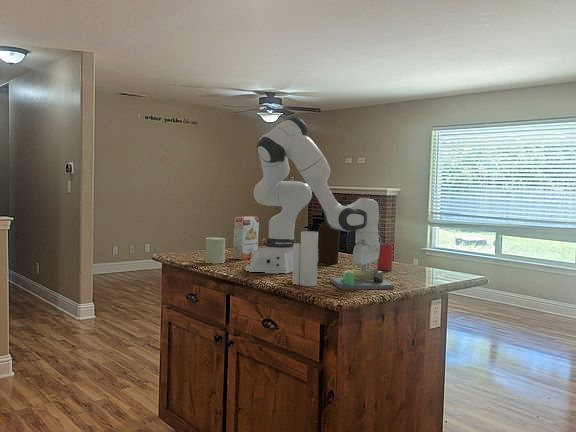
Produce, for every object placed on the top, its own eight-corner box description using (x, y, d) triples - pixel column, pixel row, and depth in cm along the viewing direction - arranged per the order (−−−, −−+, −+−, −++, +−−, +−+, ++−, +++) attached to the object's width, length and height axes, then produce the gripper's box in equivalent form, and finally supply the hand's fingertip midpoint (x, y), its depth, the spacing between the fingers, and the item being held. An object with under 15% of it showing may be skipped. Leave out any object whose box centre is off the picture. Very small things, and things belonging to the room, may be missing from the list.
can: (201, 262, 252) (201, 237, 251) (215, 260, 259) (216, 235, 258) (214, 265, 246) (214, 238, 245) (229, 263, 253) (229, 237, 252)
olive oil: (334, 265, 253) (335, 212, 252) (313, 263, 258) (315, 211, 257) (342, 262, 263) (343, 211, 261) (322, 260, 268) (323, 210, 266)
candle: (320, 284, 205) (321, 232, 204) (308, 287, 200) (310, 233, 198) (297, 280, 212) (298, 229, 211) (285, 282, 207) (286, 230, 206)
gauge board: (342, 289, 197) (342, 274, 196) (330, 281, 212) (330, 267, 212) (393, 289, 200) (394, 274, 200) (378, 281, 216) (379, 267, 216)
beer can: (391, 271, 241) (392, 244, 240) (376, 270, 242) (377, 243, 242) (392, 269, 248) (393, 243, 247) (377, 268, 249) (378, 242, 248)
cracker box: (242, 260, 261) (243, 217, 260) (232, 259, 264) (233, 216, 263) (258, 257, 273) (259, 216, 272) (248, 256, 276) (249, 215, 275)
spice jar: (384, 281, 206) (384, 271, 206) (380, 282, 203) (380, 272, 203) (354, 277, 213) (354, 267, 213) (350, 278, 210) (350, 268, 210)
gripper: (364, 242, 202) (363, 278, 203) (382, 237, 220) (381, 271, 221) (349, 240, 205) (347, 276, 206) (368, 236, 223) (366, 269, 224)
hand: (365, 274), depth 213 cm, fingers closed
